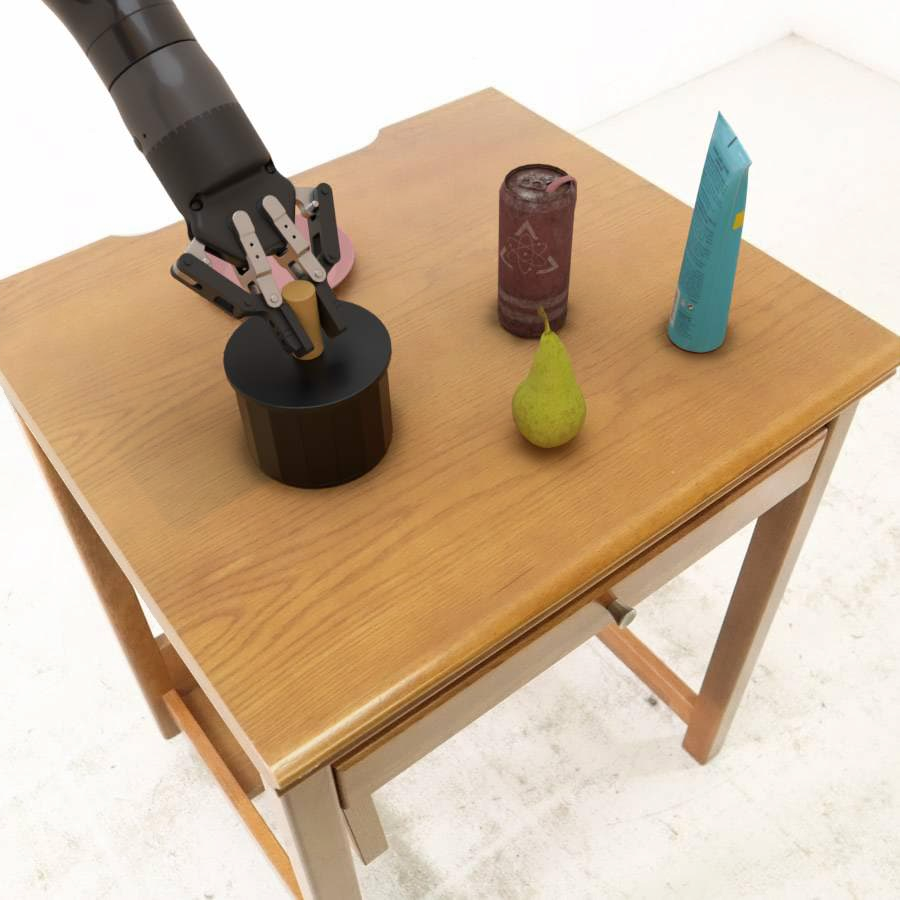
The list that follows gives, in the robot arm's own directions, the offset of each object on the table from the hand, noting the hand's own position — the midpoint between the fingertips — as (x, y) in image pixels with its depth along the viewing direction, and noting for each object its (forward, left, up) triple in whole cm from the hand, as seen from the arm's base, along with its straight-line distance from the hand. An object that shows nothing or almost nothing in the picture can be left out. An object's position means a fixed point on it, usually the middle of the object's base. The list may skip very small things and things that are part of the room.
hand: (322, 343), depth 76 cm
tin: (0, +2, -11) cm, 11 cm away
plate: (+14, +19, -11) cm, 26 cm away
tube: (+28, -17, -11) cm, 35 cm away
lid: (0, +2, -2) cm, 3 cm away
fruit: (+10, -13, -11) cm, 20 cm away
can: (+22, -4, -11) cm, 25 cm away
